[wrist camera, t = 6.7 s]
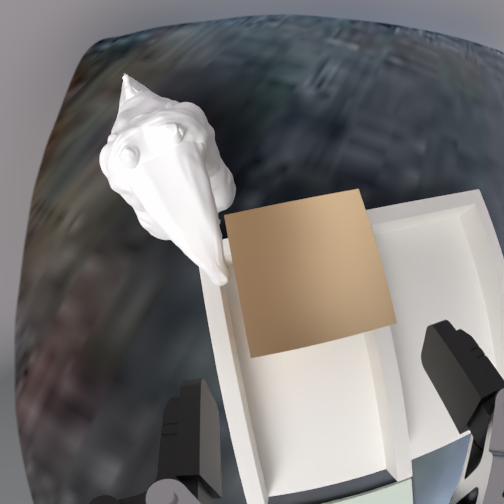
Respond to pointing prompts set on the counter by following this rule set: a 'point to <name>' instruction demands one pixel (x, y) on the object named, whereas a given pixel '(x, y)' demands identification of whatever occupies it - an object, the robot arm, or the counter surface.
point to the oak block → (307, 272)
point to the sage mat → (382, 495)
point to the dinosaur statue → (171, 174)
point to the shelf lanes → (363, 358)
